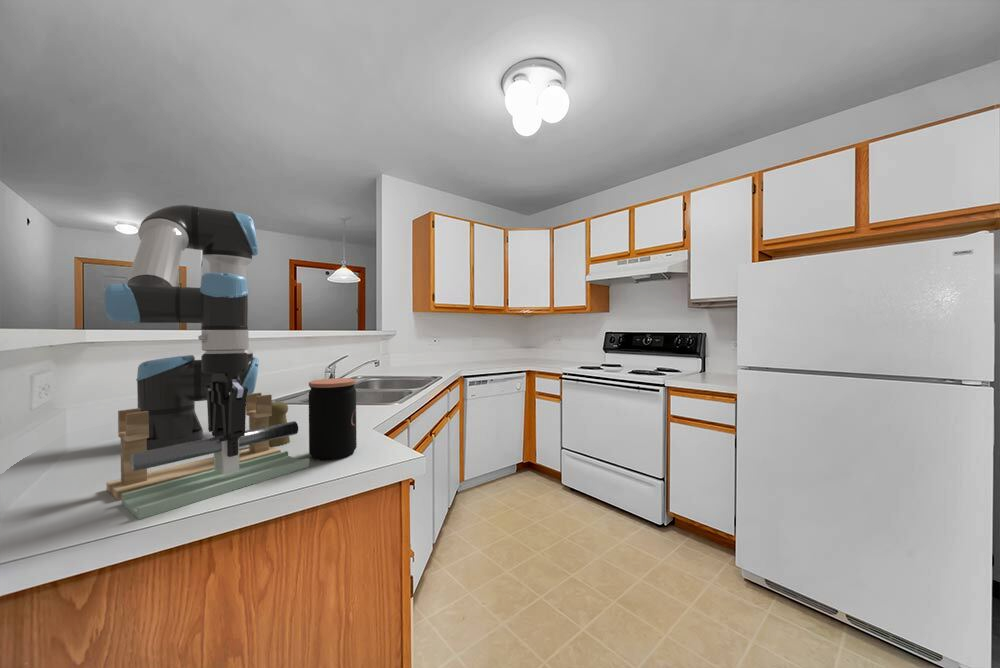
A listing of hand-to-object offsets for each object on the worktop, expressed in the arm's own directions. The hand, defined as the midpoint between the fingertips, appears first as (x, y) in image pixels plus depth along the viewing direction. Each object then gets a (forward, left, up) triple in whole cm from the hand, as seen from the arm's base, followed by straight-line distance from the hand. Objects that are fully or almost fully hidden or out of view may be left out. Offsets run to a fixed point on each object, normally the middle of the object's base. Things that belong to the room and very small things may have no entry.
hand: (226, 469), depth 74 cm
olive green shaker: (-20, +19, -3) cm, 27 cm away
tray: (0, 0, -3) cm, 3 cm away
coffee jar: (+1, +22, -3) cm, 22 cm away
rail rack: (-12, 0, -3) cm, 12 cm away
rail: (0, 0, +5) cm, 5 cm away
